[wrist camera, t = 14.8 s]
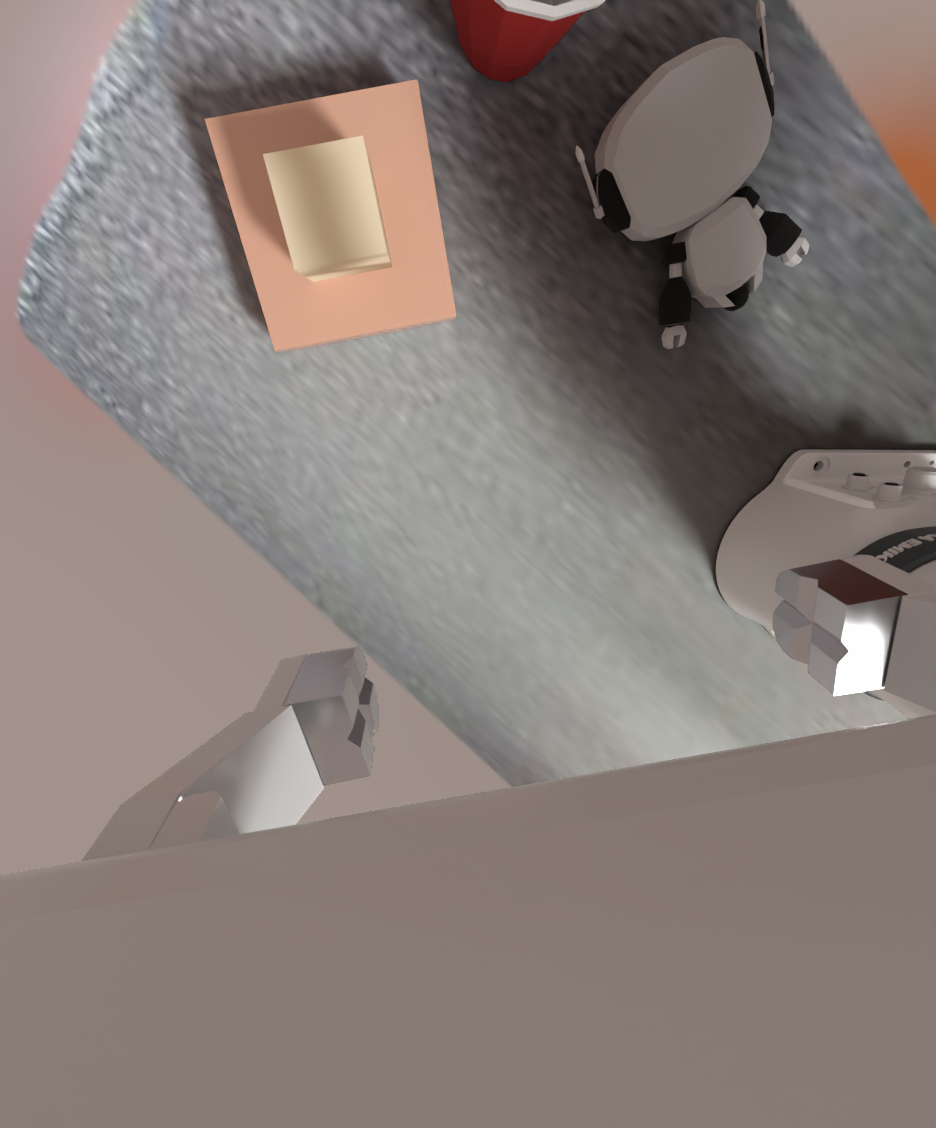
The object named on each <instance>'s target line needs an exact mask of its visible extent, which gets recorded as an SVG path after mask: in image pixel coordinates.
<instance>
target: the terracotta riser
mask: <svg viewBox="0 0 936 1128" xmlns="http://www.w3.org/2000/svg"><path fill="white" fill-rule="evenodd" d="M205 122H206V126H207V129H208V132H209V136H210V139H211V142H212V145H213V149H214V152H215V155H216V159H217V162H218V165H219V169H220V172H221V175H222V178H223V182H224V185H225V188H226V192H227V195H228V198H229V201H230V205H231V208H232V211H233V215H234V218H235V221H236V225H237V228H238V231H239V234H240V238H241V241H242V244H243V248H244V251H245V254H246V258H247V261H248V264H249V267H250V271H251V274H252V277H253V281H254V284H255V287H256V291H257V294H258V297H259V300H260V304H261V307H262V310H263V314H264V317H265V320H266V324H267V327H268V330H269V333H270V337H271V340H272V343H273V347H274V350H275V351H294V350H299V349H304V348H310V347H315V346H320V345H326V344H331V343H336V342H341V341H347V340H352V339H357V338H362V337H368V336H373V335H378V334H383V333H389V332H394V331H399V330H404V329H410V328H415V327H420V326H425V325H431V324H436V323H441V322H446V321H452V320H454V319H455V318H456V317H457V316H456V310H455V304H454V298H453V292H452V286H451V280H450V274H449V268H448V262H447V256H446V249H445V243H444V237H443V231H442V225H441V219H440V213H439V207H438V201H437V195H436V189H435V183H434V177H433V171H432V165H431V158H430V152H429V146H428V140H427V134H426V128H425V122H424V116H423V110H422V104H421V98H420V92H419V86H418V80H417V79H416V80H411V81H405V82H400V83H395V84H389V85H384V86H379V87H373V88H368V89H363V90H357V91H352V92H346V93H341V94H336V95H330V96H325V97H320V98H314V99H309V100H304V101H298V102H293V103H287V104H282V105H277V106H271V107H266V108H261V109H255V110H250V111H245V112H239V113H234V114H228V115H223V116H218V117H212V118H207V119H205ZM358 136H363V138H364V141H365V145H366V148H367V152H368V156H369V159H370V163H371V166H372V170H373V175H374V180H375V185H376V190H377V195H378V199H379V204H380V209H381V214H382V219H383V224H384V229H385V234H386V239H387V244H388V248H389V253H390V258H391V263H392V267H391V268H385V269H380V270H375V271H370V272H364V273H359V274H354V275H348V276H343V277H338V278H333V279H327V280H322V281H317V282H312V281H311V280H309V279H308V278H306V277H305V276H303V275H302V274H300V273H298V272H297V271H295V270H294V267H293V263H292V260H291V256H290V252H289V249H288V245H287V241H286V238H285V234H284V230H283V227H282V223H281V219H280V216H279V212H278V208H277V205H276V201H275V197H274V194H273V190H272V186H271V183H270V179H269V175H268V172H267V168H266V164H265V161H264V157H263V154H267V153H272V152H277V151H283V150H288V149H293V148H299V147H304V146H310V145H315V144H320V143H326V142H331V141H336V140H342V139H347V138H352V137H358Z"/></svg>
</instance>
